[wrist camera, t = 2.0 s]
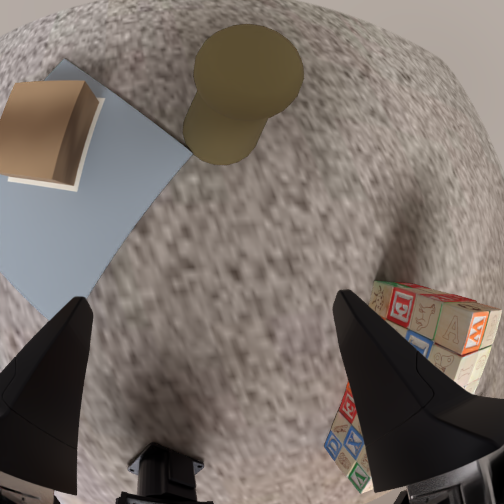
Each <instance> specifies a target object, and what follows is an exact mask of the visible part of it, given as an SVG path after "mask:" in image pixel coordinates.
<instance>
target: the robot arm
mask: <svg viewBox="0 0 504 504" xmlns="http://www.w3.org/2000/svg"><path fill="white" fill-rule="evenodd" d="M333 316H334V321H335V326H336V332H337V338H338V343H339V348H340V352H341V356H342V359H343V363H344V366H345V370H346V374H347V377H348V381H349V384H350V388H351V392H352V396H353V399H354V403H355V407H356V411H357V415H358V419H359V423H360V427H361V432H362V436H363V440H364V445H365V450H366V454H367V459H368V463H369V468H370V473H371V478H372V483H373V488H374V492H375V493H377V492H382V491H386V490H391V489H395V488H399V487H403V486H406V488H407V489H406V490H404V491H401V492H400V494H399V496H398V497H397V499H396V501H395V502H394V504H504V399H498V398H490V397H482V396H477V395H474V394H471V393H470V392H468V391H466V390H465V389H463V388H462V387H461V386H460V385H458V384H457V383H456V382H455V381H453V380H452V379H451V378H450V377H448V376H447V375H446V374H444V373H443V372H442V371H441V370H440V369H438V368H437V367H436V366H435V365H433V364H432V363H431V362H430V361H429V360H428V359H427V358H426V357H425V356H423V355H422V354H421V353H420V352H419V351H418V350H417V349H416V348H415V347H414V346H413V345H412V344H410V343H409V342H408V341H407V340H406V339H405V338H404V337H403V336H402V335H401V334H400V333H398V332H397V331H396V330H395V329H394V328H393V327H392V326H391V325H390V324H389V323H387V322H386V321H385V320H384V319H383V318H382V317H381V316H380V315H378V314H377V313H376V312H375V311H374V310H373V309H372V308H371V307H369V306H368V305H367V304H366V303H365V302H364V301H363V300H362V299H360V298H359V297H358V296H357V295H356V294H355V293H354V292H352V291H351V290H349V289H345V290H339V291H338V292H337V295H336V298H335V301H334V304H333ZM92 323H93V312H92V309H91V307H90V305H89V304H88V302H87V300H86V298H85V297H83V296H75V297H73V298H72V299H71V300H70V301H69V302H68V303H67V304H66V305H65V306H64V307H63V308H62V309H61V310H60V311H59V312H58V313H57V314H55V315H54V316H53V317H52V318H51V319H50V320H49V321H48V322H47V323H46V324H45V325H44V326H43V328H42V329H41V330H40V331H39V332H38V333H37V334H36V335H35V336H34V337H33V338H32V339H31V340H30V341H29V342H28V343H27V344H26V345H25V346H24V347H23V349H22V350H21V351H20V352H19V353H18V354H17V355H16V357H14V358H13V360H12V361H11V362H10V363H9V364H8V365H7V366H6V367H5V368H4V370H3V371H2V372H1V373H0V504H60V502H59V501H58V499H57V498H56V496H54V490H56V491H59V492H63V493H68V494H72V495H77V444H78V429H79V418H80V409H81V400H82V393H83V386H84V379H85V373H86V368H87V362H88V356H89V350H90V340H91V331H92ZM203 468H204V463H203V462H201V461H198V460H195V459H192V458H190V457H187V456H185V455H182V454H179V453H177V452H175V451H172V450H170V449H168V448H165V447H163V446H161V445H159V444H156V443H150V444H149V445H148V446H147V447H146V448H145V449H144V450H143V451H142V452H141V454H140V455H139V456H138V457H137V458H136V459H135V460H134V461H133V462H132V463H131V464H130V465H129V466H128V471H129V472H131V473H133V474H136V475H138V487H137V495H134V494H129V493H127V492H123V491H122V492H121V497H119V498H116V504H214V503H213V501H207V502H198V501H197V495H196V480H195V475H196V474H197V473H198V472H199V471H200V470H202V469H203Z"/></svg>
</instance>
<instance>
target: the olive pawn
mask: <svg viewBox="0 0 504 504" xmlns="http://www.w3.org/2000/svg"><path fill="white" fill-rule="evenodd" d="M193 77H194V81H195V84H196V88H197V93H196V95H195V97H194V99H193V101H192V104H191V106H190V108H189V110H188V113H187V115H186V117H185V120H184V124H183V135H184V139H185V143H186V145H187V146H188V148H189V149H190V151H191V152H192V153H193V154H194V155H195V156H197V157H198V158H199V159H201V160H202V161H205V162H208V163H210V164H213V165H229V164H233V163H237V162H239V161H241V160H242V159H244V158H245V157H247V156H248V155H249V154H250V153H251V151H252V150H253V149H254V148H255V146H256V144H257V142H258V139H259V137H260V135H261V133H262V131H263V129H264V126H265V124H266V122H267V120H268V118H270V117H272V116H274V115H276V114H278V113H280V112H282V111H284V110H285V109H286V108H287V107H288V106H289V105H290V104H291V103H292V102H293V101H294V99H295V98H296V97H297V96H298V93H299V91H300V88H301V85H302V82H303V79H304V71H303V63H302V60H301V58H300V56H299V53H298V51H297V49H296V48H295V47H294V46H293V44H292V43H291V42H290V41H289V40H288V39H287V38H285V37H284V36H283V35H281V34H280V33H278V32H277V31H274V30H272V29H269V28H267V27H264V26H259V25H253V24H241V25H234V26H231V27H228V28H225V29H222V30H220V31H218V32H216V33H215V34H214V35H212V36H211V37H210V38H208V39H207V40H206V41H205V43H204V44H203V46H202V47H201V49H200V50H199V52H198V54H197V55H196V58H195V65H194V74H193Z"/></svg>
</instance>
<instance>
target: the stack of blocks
mask: <svg viewBox="0 0 504 504" xmlns="http://www.w3.org/2000/svg"><path fill="white" fill-rule="evenodd" d="M369 307H371V308H372V309H373V310H374V311H375V312H376V313H377V314H378V315H380V316H381V317H382V318H383V319H384V320H385V321H386V322H387V323H389V324H390V325H391V326H392V327H393V328H394V329H395V330H396V331H397V332H398V333H400V334H401V335H402V336H403V337H404V338H405V339H406V340H407V341H408V342H409V343H410V344H412V345H413V346H414V347H415V348H416V349H417V350H418V351H419V352H420V353H421V354H422V355H423V356H425V357H426V358H427V359H428V360H429V361H430V362H431V363H432V364H433V365H435V366H436V367H437V368H438V369H440V370H441V371H442V372H443V373H444V374H446V375H447V376H448V377H450V378H451V379H452V380H453V381H455V382H456V383H457V384H458V385H460V386H461V387H462V388H463V389H465V390H466V391H468V392H470V393H471V394H474V393H475V390H476V388H477V386H478V383H479V380H480V377H481V375H482V372H483V370H484V367H485V364H486V362H487V359H488V356H489V353H490V350H491V347H492V346H491V345H492V344H493V341H494V339H495V335H496V332H497V328H498V325H499V321H500V317H501V313H502V310H501V309H498V308H494V307H491V306H487V305H484V304H480V303H477V301H476V300H472V299H469V298H465V297H462V296H458V295H454V294H449V293H445V292H441V291H437V290H433V289H430V288H427V287H423V286H420V285H416V284H411V283H400V282H395V283H394V282H384V281H374V284H373V289H372V294H371V298H370V303H369ZM324 447H325V449H326V450H327V451H328V453H329V454H330V456H331V457H332V459H333V460H334V461H335V463H336V464H337V466H338V467H339V468H340V470H341V471H342V472H343V474H344V475H345V476H346V477H348V479H349V480H350V481H351V483H352V484H353V485H354V487H355V488H356V489H357V490H358V491H359V493H360V494H361V493H364V492H367V491H369V490H372V489H374V488H373V483H372V478H371V473H370V468H369V463H368V459H367V454H366V450H365V445H364V440H363V436H362V432H361V427H360V423H359V419H358V415H357V411H356V407H355V403H354V399H353V396H352V392H351V388H350V384H349V381H348V384H347V387H346V391H345V394H344V397H343V400H342V403H341V405H340V409H339V411H338V412H337V415H336V418H335V420H334V423H333V425H332V428H331V431H330V433H329V435H328V438H327V440H326V443H325V445H324Z"/></svg>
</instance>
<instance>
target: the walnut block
mask: <svg viewBox="0 0 504 504" xmlns="http://www.w3.org/2000/svg"><path fill="white" fill-rule="evenodd" d="M98 104H99V101H98V99H97V98H96V96H95V95H94V94H93V92H92V91H91V89H90V88H89V86H88V85H87V83H86V81H80V80H58V81H34V82H21V83H15V85H14V87H13V89H12V91H11V94H10V96H9V99H8V101H7V103H6V106H5V108H4V111H3V114H2V116H1V119H0V174H1V175H5V176H9V177H15V178H22V179H30V180H37V181H44V182H51V183H57V184H64V185H70V186H74V184H75V179H76V175H77V171H78V167H79V163H80V159H81V156H82V152H83V149H84V145H85V142H86V139H87V136H88V133H89V129H90V126H91V124H92V121H93V118H94V115H95V112H96V110H97V107H98Z"/></svg>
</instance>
